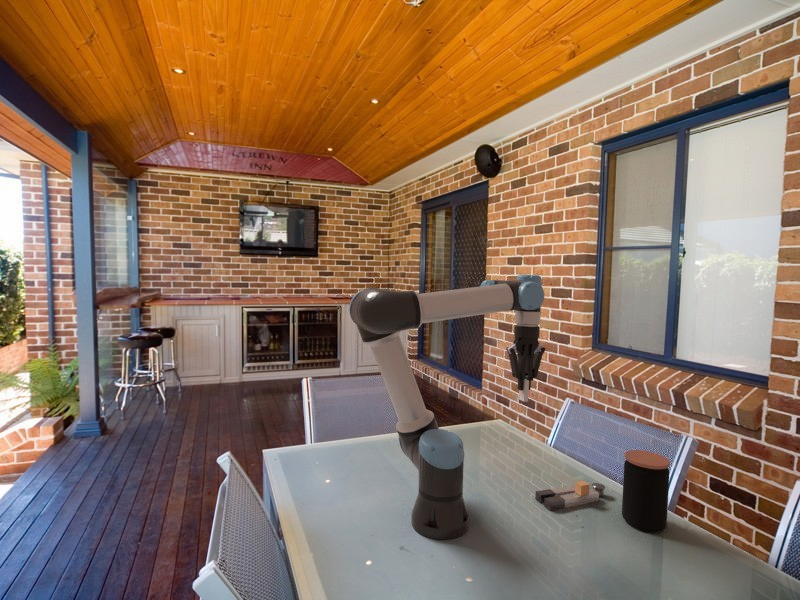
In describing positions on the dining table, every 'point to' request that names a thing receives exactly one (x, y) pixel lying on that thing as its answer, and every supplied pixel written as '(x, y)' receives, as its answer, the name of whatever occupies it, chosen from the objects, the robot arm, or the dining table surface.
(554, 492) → the tongs upper
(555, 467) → the dining table surface
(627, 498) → the coffee jar
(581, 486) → the tab
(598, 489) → the tongs lower
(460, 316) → the robot arm
